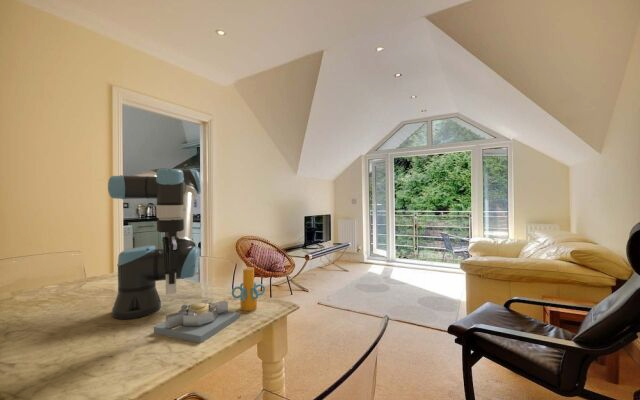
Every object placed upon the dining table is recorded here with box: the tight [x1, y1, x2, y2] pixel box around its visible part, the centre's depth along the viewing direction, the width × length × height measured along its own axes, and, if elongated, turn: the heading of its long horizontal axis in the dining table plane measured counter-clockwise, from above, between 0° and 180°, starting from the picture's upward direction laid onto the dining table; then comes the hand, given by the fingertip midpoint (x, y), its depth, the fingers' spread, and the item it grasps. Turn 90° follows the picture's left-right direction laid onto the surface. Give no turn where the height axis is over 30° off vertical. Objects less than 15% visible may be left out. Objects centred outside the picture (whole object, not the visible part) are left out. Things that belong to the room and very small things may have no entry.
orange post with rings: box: [231, 266, 266, 312], centre depth 108 cm, size 12×10×15 cm
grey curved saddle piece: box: [165, 299, 229, 328], centre depth 94 cm, size 19×11×4 cm, turn 134°
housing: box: [153, 302, 240, 344], centre depth 94 cm, size 18×18×7 cm
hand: (171, 293), depth 91 cm, fingers closed
